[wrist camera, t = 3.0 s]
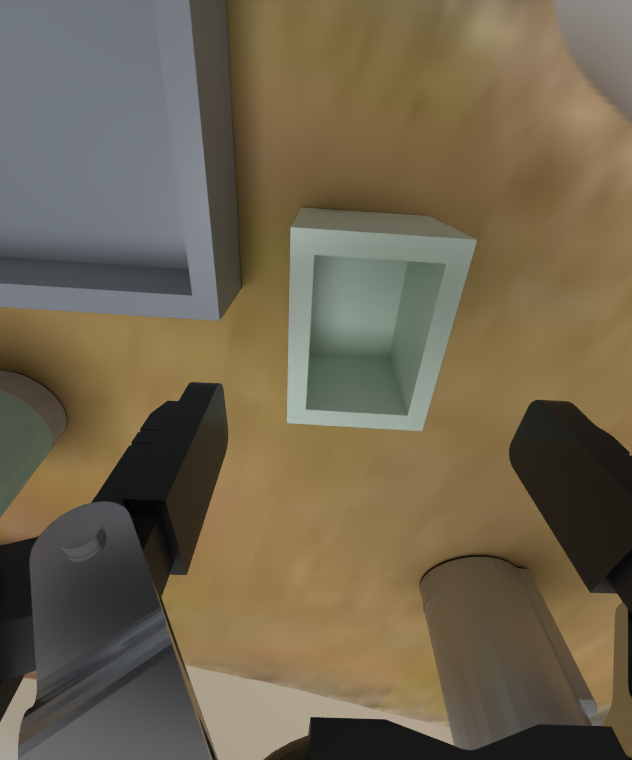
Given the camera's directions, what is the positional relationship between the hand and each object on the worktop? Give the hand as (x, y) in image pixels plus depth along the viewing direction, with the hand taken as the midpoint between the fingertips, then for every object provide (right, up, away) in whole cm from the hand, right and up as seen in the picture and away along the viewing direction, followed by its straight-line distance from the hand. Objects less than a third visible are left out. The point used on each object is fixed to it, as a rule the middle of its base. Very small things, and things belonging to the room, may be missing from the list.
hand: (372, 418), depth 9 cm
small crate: (+1, +5, +9) cm, 11 cm away
